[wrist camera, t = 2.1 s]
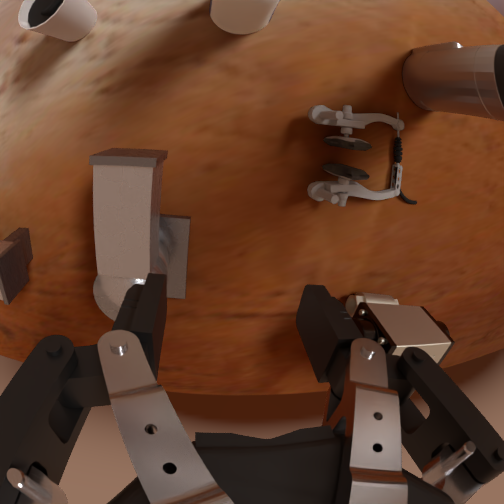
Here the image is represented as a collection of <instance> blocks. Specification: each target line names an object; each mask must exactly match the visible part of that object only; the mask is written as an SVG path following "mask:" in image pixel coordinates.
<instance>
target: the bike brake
mask: <svg viewBox="0 0 504 504" xmlns="http://www.w3.org/2000/svg"><path fill="white" fill-rule="evenodd" d="M308 116H309V119H310V120H311V121H313V122H314V123H316V124H325V125H332V126H342V127H341V133H342V134H344V137H342V136H330V137H326V138H324V140H323V141H324V142H325V143H327V144H329V145H331V146H336V147H341V148H347V149H352V150H363V151H366V150H368V149H370V148H372V146H371V144H370V143H368V142H365V141H363V140H361V139H356V138H349V135H350V134H352V128H360V129H365V125H367V124H369V123H372V122H377V121H381V122H385V123H387V124H390V125H392V127H393V128H394V129H395V130H397V138H395V140H397V141H395V143H396V144H395V146H396V147H394V150H396V151H394V154H395V155H396V156H394V159H395V160H394V161H395V162H396V164H393V168H392V178H391V187H390V189H387V190H382V191H370V190H368V189H366V188H365V187H363V186H362V185H360V184H358V183H357V182H355V181H349V180H367V179H368V178H369V177H370V176H369V175H368V174H367V173H366V172H365V171H363V170H360V169H357V168H353V167H350V166H347V165H343V164H326V165H323V166H322V168H323V170H325V171H327V172H329V173H330V174H332V175H335V176H338V181H316V182H314V183H311V184H309V186H308V189H307V191H308V195H309V197H311V198H313V199H315V200H317V201H323V200H324V199H325V200H327V201H329V202H331V203H333V204H336V203H337V202H338V206H345V205H346V200H347V198H348V196H355V197H361V198H366V199H371V200H383V199H388V198H392V197H395V196H398V195H400V196H401V197H402V199H403V200H404V201H406V202H407V203H410V204H417V201H412V200H409V199H407V198H406V197H405V196H404V195H403V193H402V191H401V189H400V185H401V176H402V166H399V163H400V162H401V161H400V160H402V157H401V156H400V155H402V152H401V151H402V148H401V146H402V145H401V143H402V142H401V141H400V140H401V138H400V137H399V130H403V129H404V122H403V121H402V120H400V119H399V113H398V112H397V119H395V118H393V117H391V116H388V115H385V114H380V113H361V114H352V108H351V106H349V105H343V112H341V111H333V110H331V109H329V108H327V107H326V106H324V105H318V106H313V107H311V108H310V110H309V112H308ZM349 127H350V128H349ZM394 167H395V172H394ZM399 169H400V173H399ZM393 175H394V176H395V177H394V179H393ZM398 177H399V181H398ZM392 183H394V186H393V187H392ZM395 185H396V187H395Z"/></svg>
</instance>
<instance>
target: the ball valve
mask: <svg viewBox="0 0 504 504" xmlns="http://www.w3.org/2000/svg"><path fill="white" fill-rule="evenodd" d="M345 309H346V310H347V313H349V315H350V316H351V317H352V318H351V319H352V320H353V321H354V323H355V324H356V326H357V328H358V329H359V331H360V332H361V334H362V336H363V337H364V338H367V339H371V340H373V341H375V342H377V343H378V344H379V345H381V347H382V348H383V349H384V351H385V353H386V354H392V355H398V356H401V354H402V353H403V351H404V349H405V348H407V347H411V346H413V347H418V348H420V349H422V350H424V351H425V352H426V353H428V354H429V356H430V357H431V358H432V359H433V360H434V361H435V362H436V363H437V364H438V365H440V363H441V362H442V360H443V359H444V358H445V356H446V355H447V353H448V352H449V350H450V349H451V347H452V346H453V344H454V343H455V342H454V341H453V340H452V338H451V337H450V335H449V331H448V328H447V327H446V325H445V324H444V323H443V322H441V321H436V320H435V319H434V318H433V317H432V316H431V315H430V313H429V312H428V311H427V310H426V309H425V308H424V307H421V306H406V305H399V303H398V300H397V299H394V298H393V297H392V296H390V295H381V294H372V293H363V292H358V293H356V294H355V295H350V296H349V297H348V299H347V301H346V305H345Z"/></svg>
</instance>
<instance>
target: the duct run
mask: <svg viewBox="0 0 504 504" xmlns="http://www.w3.org/2000/svg"><path fill="white" fill-rule="evenodd" d="M32 259H33V255H32V249H31V243H30V236H29V229H28V228H18V229H17V230H16V231H14V232H13V233H12V234H10V235H9V236H8V237H7V238H5V239H4V240H3V241H0V300H4V303H5V304H7V305H9V304H10V303H11V302H12V300H13V299H14V298H15V297H16V295H17V294H18V293H19V292H20V291H21V289H22V288H23V287H24V286H25V285H26V283H27V282H28V281H29V277H28V272H27V268H26V265H27V264H28V263H29V262H30V261H31V260H32Z"/></svg>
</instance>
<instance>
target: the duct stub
mask: <svg viewBox="0 0 504 504" xmlns="http://www.w3.org/2000/svg"><path fill="white" fill-rule="evenodd" d="M190 218H191V217H188V216H177V215H165V214H160V220H159V253H158V255H159V256H160V257H161V258H162V260H163V261H164V263H165V265H166V267H167V271H168V283H167V297H169V298H180V299H185V295H186V275H187V258H188V244H189V230H190Z"/></svg>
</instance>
